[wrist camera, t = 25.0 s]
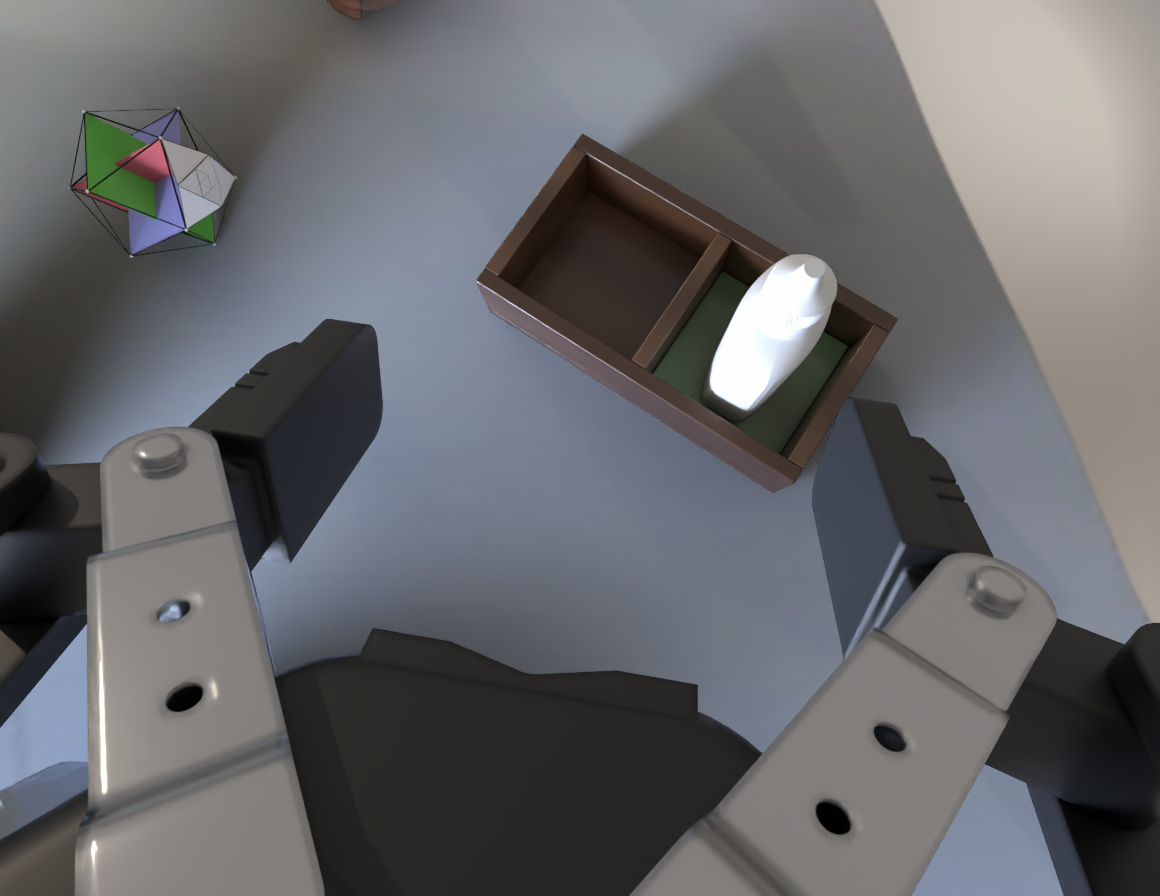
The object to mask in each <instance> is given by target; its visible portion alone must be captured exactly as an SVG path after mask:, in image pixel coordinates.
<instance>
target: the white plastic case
mask: <svg viewBox="0 0 1160 896" xmlns="http://www.w3.org/2000/svg"><path fill="white" fill-rule="evenodd" d="M87 787H88V762H61V763H58V764H55V765H53V766H50V767H47V768H45V769H43V770H41V771H39V772H37V773H35V774H33V775H31V776H29V777H27V778H25V779H23V780H21V781H19V782H17V783H15V784H14V785H12V786H10V787H7V788H5V789H3V790H1V791H0V839H1V838H3V837H5V836H7V835H8V834H10V833H12V832H13V831H15V830H17V829H18V828H20V827H22V826H23V825H25V824H27V823H28V822H30V821H32V820H33V819H35V818H37V817H38V816H40V815H42V814H43V813H45V812H47V811H48V810H50V809H52V808H53V807H55V806H57V805H58V804H60V803H62V802H64V801H65V800H67V799H69V798H70V797H72V796H74V795H75V794H77V793H79V792H80V791H82V790H84V789H85V788H87Z"/></svg>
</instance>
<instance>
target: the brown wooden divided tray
mask: <svg viewBox="0 0 1160 896" xmlns="http://www.w3.org/2000/svg"><path fill="white" fill-rule="evenodd" d="M787 256H790V255H789V254H787V253H785V252H784V251H782V250H780V249H778V248H777V247H775V246H773V245H772V244H770V243H768V242H766V241H765V240H763V239H761V238H760V237H758V236H756V235H755V234H753V233H751V232H749V231H748V230H746V229H744V228H743V227H741V226H739V225H738V224H736V223H734V222H732V221H731V220H729V219H727V218H726V217H724V216H722V215H720V214H719V213H717V212H715V211H714V210H712V209H710V208H709V207H707V206H705V205H703V204H702V203H700V202H698V201H697V200H695V199H693V198H691V197H690V196H688V195H686V194H685V193H683V192H681V191H680V190H678V189H676V188H674V187H673V186H671V185H669V184H668V183H666V182H664V181H662V180H661V179H659V178H657V177H656V176H654V175H652V174H651V173H649V172H647V171H645V170H644V169H642V168H640V167H639V166H637V165H635V164H634V163H632V162H630V161H628V160H627V159H625V158H623V157H622V156H620V155H618V154H616V153H615V152H613V151H611V150H610V149H608V148H606V147H605V146H603V145H601V144H599V143H598V142H596V141H594V140H593V139H591V138H589V137H587V136H586V135H584V134H582V135H581V136H580V137H579V139H578V140H577V141H576V143H575V144H574V146H573V147H572V148H571V149H570V151H569V152H568V154H567V155H566V156H565V158H564V159H563V161H562V162H561V163H560V165H559V166H558V167H557V169H556V170H555V172H554V173H553V174H552V176H551V177H550V178H549V180H548V181H547V183H546V184H545V185H544V187H543V188H542V189H541V191H540V192H539V194H538V195H537V196H536V198H535V199H534V200H533V202H532V203H531V205H530V206H529V207H528V209H527V210H526V211H525V213H524V214H523V216H522V217H521V218H520V220H519V221H518V222H517V224H516V225H515V227H514V228H513V229H512V231H511V232H510V233H509V235H508V236H507V238H506V239H505V240H504V242H503V243H502V245H501V246H500V247H499V249H498V250H497V251H496V253H495V254H494V256H493V257H492V258H491V260H490V261H489V262H488V264H487V265H486V267H485V269H484V270H483V271H482V272H481V274H480V275H479V277H478V278H477V279H476V283H477V285H478V287H479V289H480V291H481V293H482V295H483V297H484V299H485V302H486V304H487V306H488V308H489V310H490V312H491V313H493V314H494V315H496V316H497V317H499V318H501V319H502V320H504V321H505V322H507V323H508V324H510V325H511V326H513V327H515V328H516V329H518V330H519V331H521V332H522V333H524V334H525V335H527V336H529V337H530V338H532V339H533V340H535V341H536V342H538V343H540V344H541V345H543V346H544V347H546V348H547V349H549V350H550V351H552V352H554V353H555V354H557V355H558V356H560V357H561V358H563V359H565V360H566V361H568V362H569V363H571V364H572V365H574V366H575V367H577V368H579V369H580V370H582V371H583V372H585V373H586V374H588V375H589V376H591V377H593V378H594V379H596V380H597V381H599V382H600V383H602V384H604V385H605V386H607V387H608V388H610V389H611V390H613V391H614V392H616V393H618V394H619V395H621V396H622V397H624V398H625V399H627V400H628V401H630V402H632V403H633V404H635V405H636V406H638V407H639V408H641V409H643V410H644V411H646V412H647V413H649V414H650V415H652V416H653V417H655V418H657V419H658V420H660V421H661V422H663V423H664V424H666V425H668V426H669V427H671V428H672V429H674V430H675V431H677V432H678V433H680V434H682V435H683V436H685V437H686V438H688V439H689V440H691V441H692V442H694V443H696V444H697V445H699V446H700V447H702V448H703V449H705V450H707V451H708V452H710V453H711V454H713V455H714V456H716V457H717V458H719V459H721V460H722V461H724V462H725V463H727V464H728V465H730V466H732V467H733V468H735V469H736V470H738V471H739V472H741V473H742V474H744V475H746V476H747V477H749V478H750V479H752V480H753V481H755V482H756V483H758V484H760V485H761V486H763V487H764V488H766V489H767V490H769V491H771V492H772V493H773V492H776V491H778V490H780V489H782V488H784V487H786V486H788V485H791V484H793V483H794V482H795V481H796V479H797V478H798V476H799V475H800V473H801V472H802V468H804V467H805V465H806V464H807V462H808V461H809V459H810V457H811V456H812V454H813V453H814V451H815V449H816V448H817V446H818V445H819V443H820V442H821V440H822V438H823V437H824V435H825V434H826V432H827V431H828V429H829V427H830V426H831V424H832V423H833V421H834V419H835V418H836V416H837V415H838V412H839V409H840V407H841V405H842V403H843V402H844V400H845V399H846V398H848V397H849V396H850V394H851V393H852V391H853V389H854V388H855V386H856V385H857V383H858V382H859V380H860V378H861V377H862V375H863V374H864V372H865V371H866V369H867V367H868V366H869V364H870V363H871V361H872V359H873V358H874V356H875V355H876V353H877V352H878V350H879V348H880V347H881V345H882V344H883V342H884V341H885V339H886V337H887V336H888V333H889V332H890V331H891V330H892V328H893V326H894V325H895V323H896V322H897V320H898V319H897V318H896V317H894V316H893V315H891V314H889V313H888V312H886V311H884V310H882V309H881V308H879V307H877V306H876V305H874V304H872V303H870V302H869V301H867V300H865V299H864V298H862V297H860V296H859V295H857V294H855V293H853V292H852V291H850V290H848V289H847V288H845V287H843V286H842V285H840V284H838V283H836V284H837V293H836V295H837V296H836V297H835V300H834V302H833V303H832V307H831V312H830V315H829V318H828V321H827V324H826V326H825V328H824V330H823V332H822V334H821V336H820V338H819V340H818V341H817V343H816V345H815V346H814V347H813V349H812V350H811V352H810V353H809V354H808V355H807V357H806V358H805V359H804V360H803V361H802V363H801V364H800V365H799V366H798V367H797V368H796V369H795V370H794V371H793V372H792V373H791V375H790V376H789V377H788V378H787V379H786V380H785V381H784V382H783V383H782V384H781V385H780V386H779V387H778V389H777V390H776V391H775V392H774V393H773V394H772V395H771V396H770V397H769V398H768V399H767V400H766V401H765V402H764V404H763V405H761V406H760V407H759V408H758V409H757V410H756V411H755V412H754V413H752V414H751V415H750V416H748V417H747V418H745V419H743V420H741V421H733V420H730V419H728V418H727V417H725V416H723V415H721V414H719V413H718V412H716V411H714V410H713V409H711V408H709V407H708V406H707V405H706V404H705V403H704V399H703V389H704V383H705V379H706V375H707V371H708V369H709V366H710V363H711V361H712V359H713V357H714V355H715V353H716V351H717V348H718V346H719V344H720V342H721V340H722V338H723V336H724V334H725V332H726V330H727V328H728V326H729V324H730V322H731V320H732V318H733V316H734V314H735V312H736V310H737V308H738V306H739V304H740V302H741V301H742V299H743V297H744V296H745V294H746V293H747V291H748V290H749V288H750V287H751V286H752V285H753V283H754V282H755V281H756V280H757V279H758V278H759V277H760V276H761V275H762V274H763V273H764V272H765V271H766V270H767V269H769V268H770V267H771V266H773V265H774V264H775V263H777V262H778V261H780V260H781V259H783V258H785V257H787Z"/></svg>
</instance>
